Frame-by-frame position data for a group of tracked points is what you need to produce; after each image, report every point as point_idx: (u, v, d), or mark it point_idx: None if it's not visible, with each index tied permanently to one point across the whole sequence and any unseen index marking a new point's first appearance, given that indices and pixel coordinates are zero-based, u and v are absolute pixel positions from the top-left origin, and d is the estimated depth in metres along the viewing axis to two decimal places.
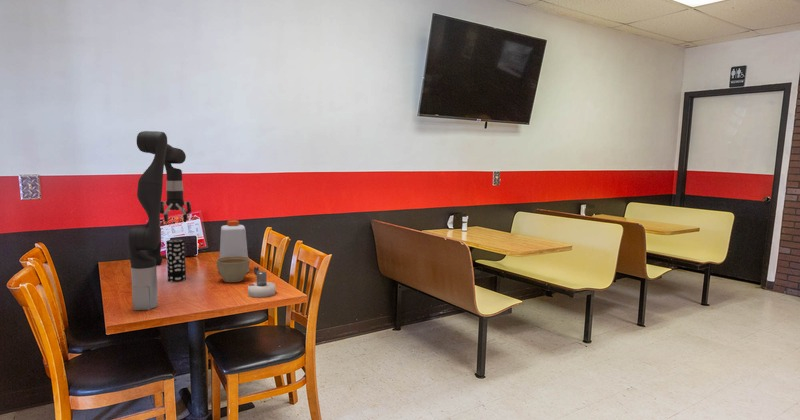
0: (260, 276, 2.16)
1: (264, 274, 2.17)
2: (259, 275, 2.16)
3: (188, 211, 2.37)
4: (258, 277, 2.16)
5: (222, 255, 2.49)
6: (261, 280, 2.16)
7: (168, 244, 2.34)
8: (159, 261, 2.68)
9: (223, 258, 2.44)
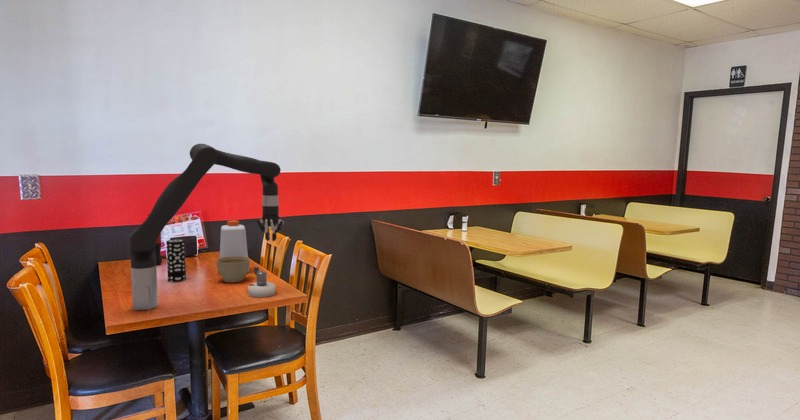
0: (260, 276, 2.16)
1: (264, 274, 2.17)
2: (259, 275, 2.16)
3: None
4: (258, 277, 2.16)
5: (222, 255, 2.49)
6: (261, 280, 2.16)
7: (168, 244, 2.34)
8: (159, 261, 2.68)
9: (223, 258, 2.44)
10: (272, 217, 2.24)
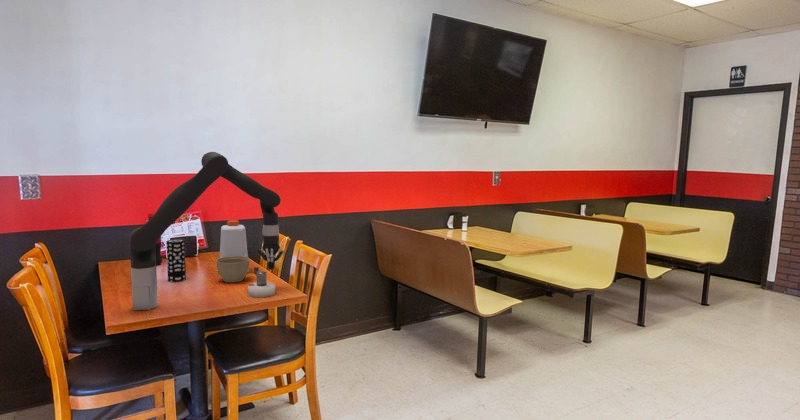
0: (260, 276, 2.16)
1: (264, 274, 2.17)
2: (259, 275, 2.16)
3: None
4: (258, 277, 2.16)
5: (222, 255, 2.49)
6: (261, 280, 2.16)
7: (168, 244, 2.34)
8: (159, 261, 2.68)
9: (223, 258, 2.44)
10: (272, 246, 2.26)
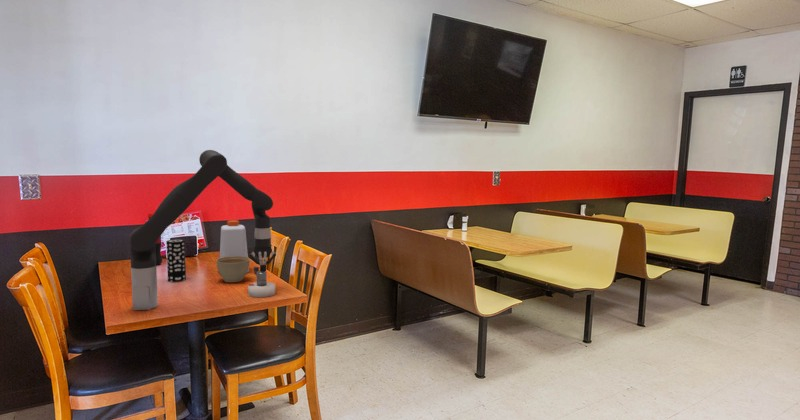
0: (260, 276, 2.16)
1: (264, 274, 2.17)
2: (259, 275, 2.16)
3: None
4: (258, 277, 2.16)
5: (222, 255, 2.49)
6: (261, 280, 2.16)
7: (168, 244, 2.34)
8: (159, 261, 2.68)
9: (223, 258, 2.44)
10: (265, 249, 2.27)
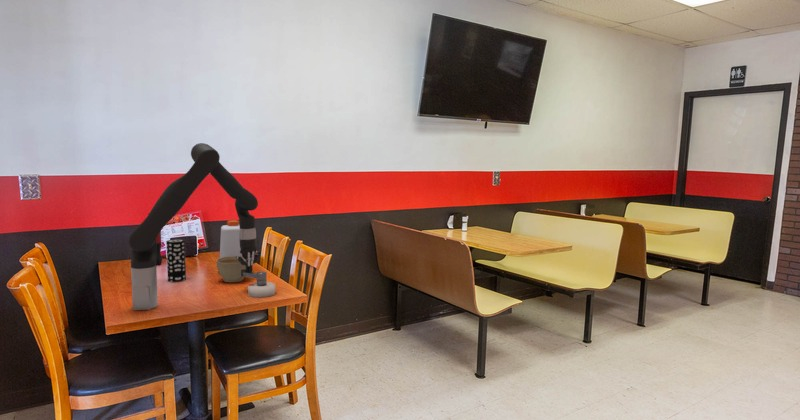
0: (263, 276, 2.17)
1: (266, 273, 2.18)
2: (262, 275, 2.16)
3: None
4: (261, 277, 2.16)
5: (222, 255, 2.49)
6: (264, 280, 2.17)
7: (168, 244, 2.34)
8: (159, 261, 2.68)
9: (223, 258, 2.44)
10: (252, 249, 2.24)
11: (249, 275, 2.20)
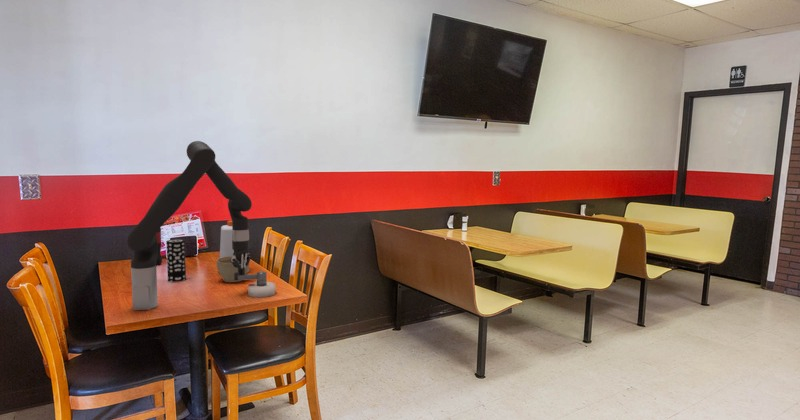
0: (265, 275, 2.18)
1: None
2: (265, 275, 2.17)
3: None
4: (264, 277, 2.17)
5: (222, 255, 2.49)
6: (266, 279, 2.18)
7: (168, 244, 2.34)
8: (159, 261, 2.68)
9: (223, 258, 2.44)
10: (244, 251, 2.20)
11: (246, 277, 2.16)
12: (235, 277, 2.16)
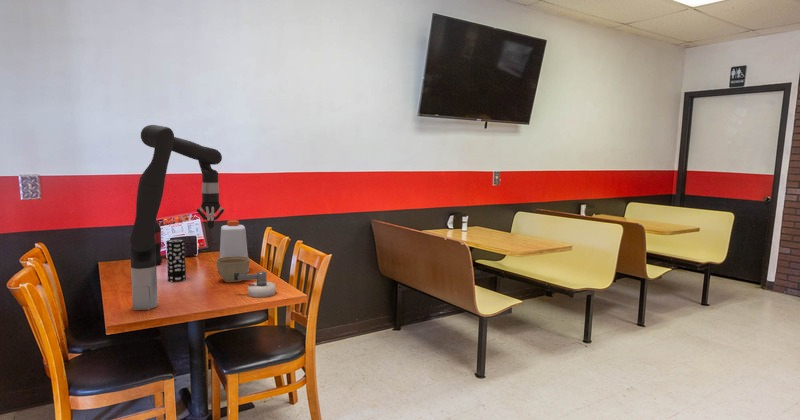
0: (265, 275, 2.18)
1: None
2: (265, 275, 2.17)
3: None
4: (264, 277, 2.17)
5: (222, 255, 2.49)
6: (266, 279, 2.18)
7: (168, 244, 2.34)
8: (159, 261, 2.68)
9: (223, 258, 2.44)
10: (213, 204, 2.23)
11: (246, 277, 2.16)
12: (235, 277, 2.16)
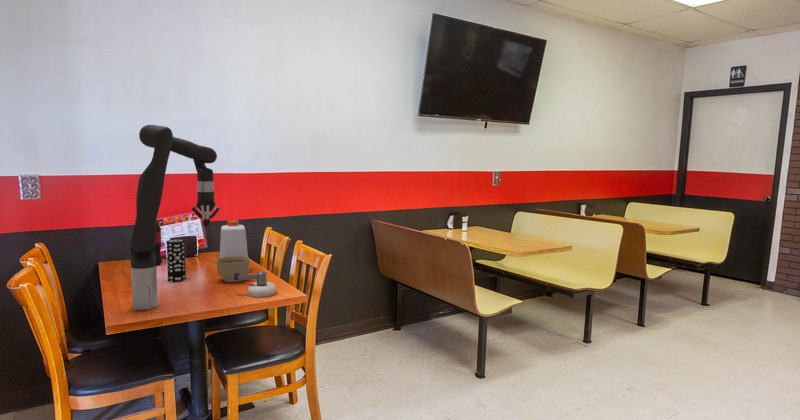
0: (265, 275, 2.18)
1: None
2: (265, 275, 2.17)
3: None
4: (264, 277, 2.17)
5: (222, 255, 2.49)
6: (266, 279, 2.18)
7: (168, 244, 2.34)
8: (159, 261, 2.68)
9: (223, 258, 2.44)
10: (208, 203, 2.24)
11: (246, 277, 2.16)
12: (235, 277, 2.16)
